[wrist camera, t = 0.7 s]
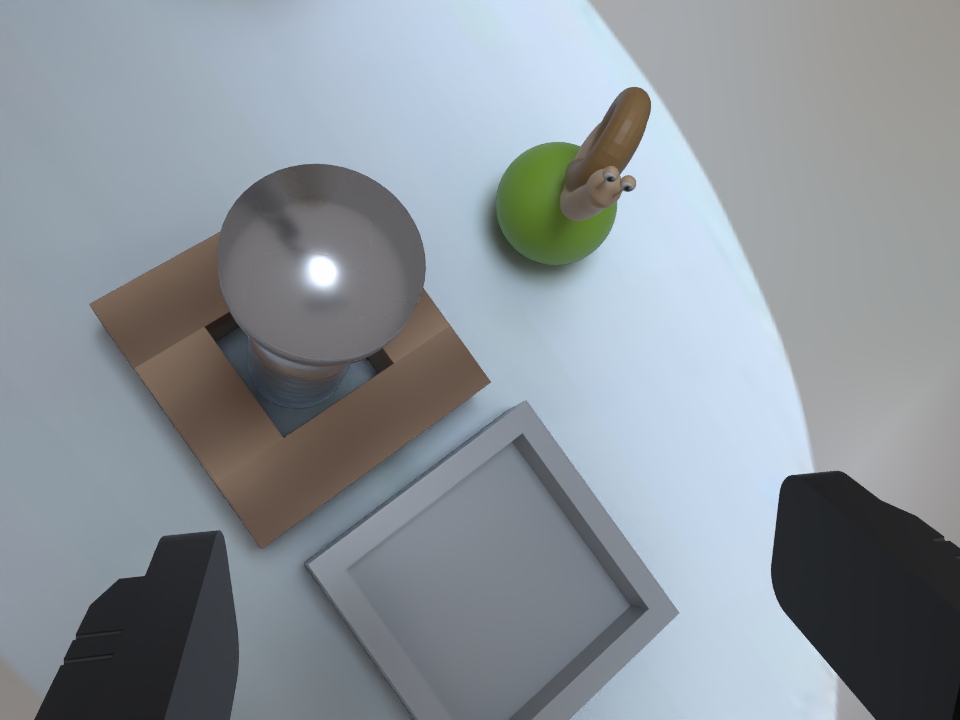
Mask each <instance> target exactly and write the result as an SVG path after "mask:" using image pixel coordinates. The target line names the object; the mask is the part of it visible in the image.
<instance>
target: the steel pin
mask: <svg viewBox="0 0 960 720" xmlns="http://www.w3.org/2000/svg"><path fill="white" fill-rule="evenodd" d="M217 263H218V273H219V280H220V287H221V291H222V294H223V298H224V300H225V303H226V305H227V307H228V309H229V312H230V313H231V315H232V316H233V318H234V320H235V321H236V323H237V324H238V325H239V326H240V328H241V329H242V330H243V331H244V333H245V334H246V335H248V336H249V353H248V366H249V372H250V376H251V378H252V381H253V383H254V385H255V386H256V388H257V389H258V390H259V392H260V393H261V394H262V395H263V396H264V397H265V398H267V399H268V400H270V401H271V402H273V403H275V404H277V405H280V406H282V407H287V408H293V409H301V408H308V407H311V406H314V405H317V404H319V403H321V402H323V401H324V400H326V399H327V398H328V397H330V396H331V395H332V394H333V393H334V391H335V390H336V389H337V387H338V385H339V384H340V382H341V380H342V378H343V377H344V375H345V373H346V371H347V370H348V368H349V366H350V364H351V363H353V362H357V361H359V360H362V359H364V358H367V357H369V356H371V355H372V354H374V353H376V352H378V351H379V350H381V349H382V348H383V347H384V346H386V345H387V344H388V343H390V341H391V340H392V339H393V338H394V337H395V336H396V335H397V334H398V333H399V332H400V330H401V329H402V328H403V326H404V325H405V324H406V322H407V321H408V319H409V318H410V317H411V315H412V313H413V312H414V310H415V308H416V306H417V304H418V302H419V299H420V296H421V294H422V290H423V286H424V281H425V270H426V266H425V253H424V248H423V243H422V240H421V237H420V234H419V231H418V229H417V227H416V225H415V223H414V221H413V219H412V218H411V216H410V214H409V213H408V211H407V210H406V209H405V207H404V206H403V205H402V204H401V202H400V201H399V200H398V199H397V198H396V197H395V196H394V195H393V194H392V193H391V192H390V191H388V190H387V189H386V188H384V187H383V186H382V185H381V184H379V183H378V182H376V181H374V180H372V179H371V178H369V177H367V176H365V175H363V174H361V173H358V172H356V171H353V170H350V169H347V168H343V167H339V166H333V165H325V164H306V165H298V166H292V167H288V168H285V169H282V170H279V171H276V172H274V173H272V174H269V175H267V176H265V177H264V178H262V179H260V180H259V181H257V182H256V183H254V184H253V185H252V186H251V187H249V188H248V189H247V190H246V191H245V192H244V193H243V194H242V195H241V196H240V197H239V198H238V199H237V201H236V202H235V203H234V205H233V206H232V208H231V209H230V211H229V213H228V215H227V217H226V219H225V221H224V223H223V226H222V229H221V232H220V236H219V242H218V248H217Z"/></svg>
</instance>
